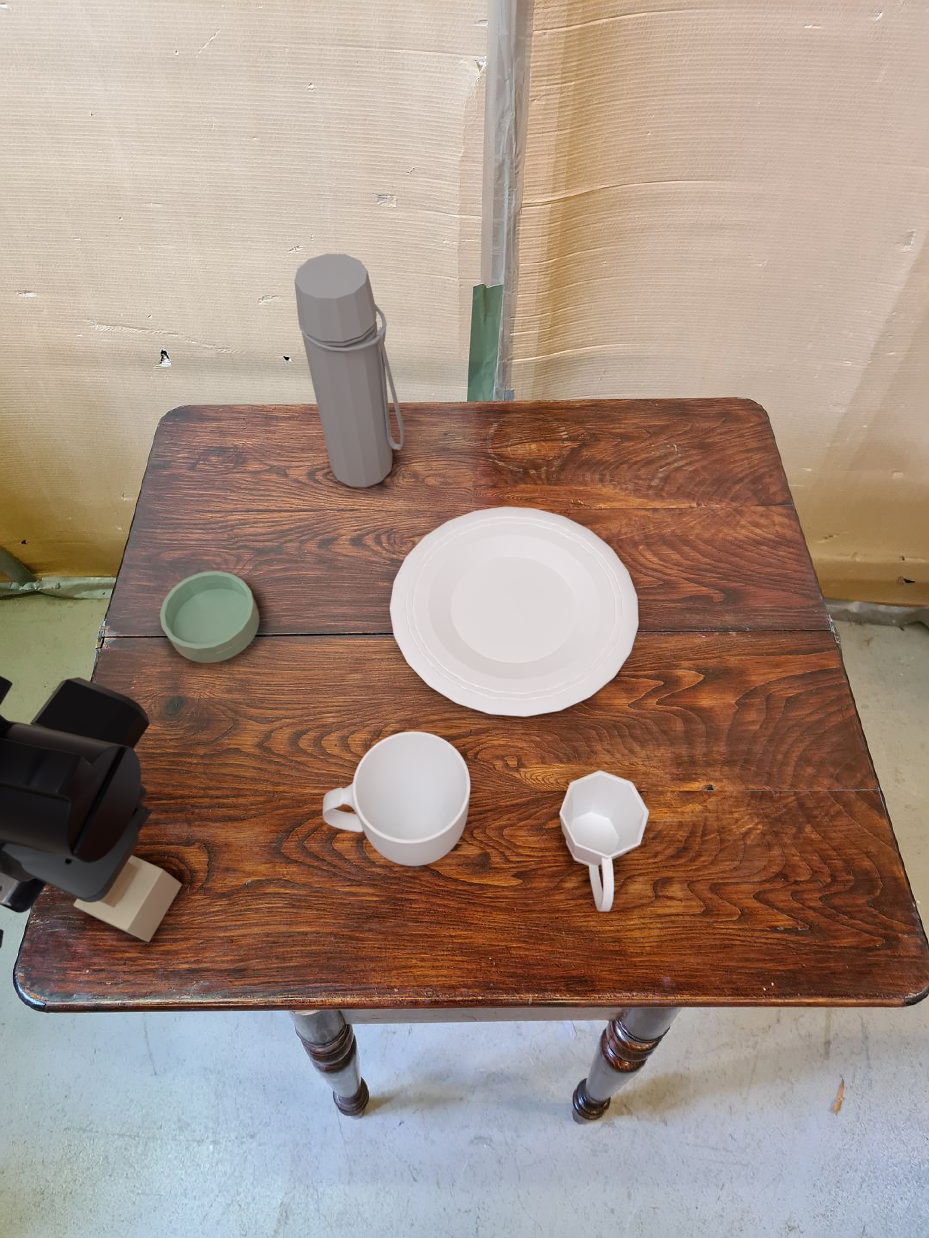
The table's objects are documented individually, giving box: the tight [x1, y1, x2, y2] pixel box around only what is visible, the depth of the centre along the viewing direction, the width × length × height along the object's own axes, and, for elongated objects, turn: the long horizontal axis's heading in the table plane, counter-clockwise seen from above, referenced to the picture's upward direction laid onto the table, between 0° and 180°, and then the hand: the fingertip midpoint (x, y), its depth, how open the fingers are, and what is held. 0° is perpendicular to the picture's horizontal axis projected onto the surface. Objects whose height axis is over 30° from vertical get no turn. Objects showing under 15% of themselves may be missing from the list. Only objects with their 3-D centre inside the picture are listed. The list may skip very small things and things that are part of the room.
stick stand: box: [73, 854, 183, 943], centre depth 64 cm, size 5×5×5 cm
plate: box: [389, 506, 640, 718], centre depth 80 cm, size 25×25×2 cm
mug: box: [322, 730, 471, 867], centre depth 64 cm, size 12×9×12 cm
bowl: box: [159, 570, 260, 664], centre depth 79 cm, size 9×9×3 cm
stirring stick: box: [99, 862, 137, 908], centre depth 58 cm, size 2×3×10 cm, turn 158°
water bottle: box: [294, 253, 405, 488], centre depth 81 cm, size 9×8×25 cm
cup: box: [558, 769, 650, 912], centre depth 65 cm, size 7×10×8 cm
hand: (77, 859), depth 56 cm, fingers closed on stirring stick, 2 cm apart
